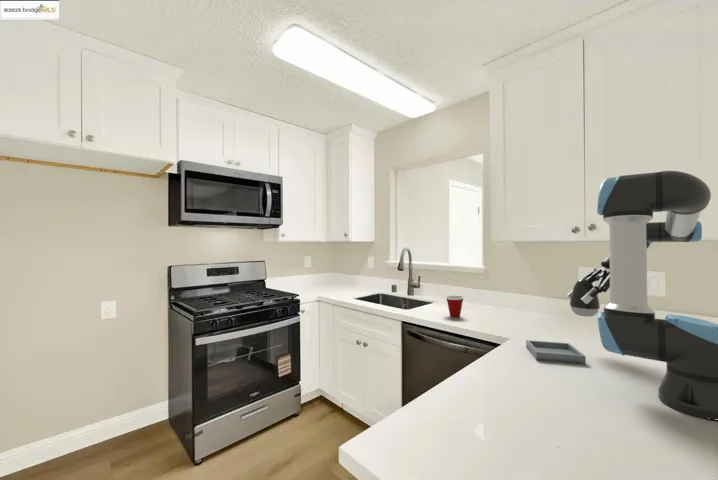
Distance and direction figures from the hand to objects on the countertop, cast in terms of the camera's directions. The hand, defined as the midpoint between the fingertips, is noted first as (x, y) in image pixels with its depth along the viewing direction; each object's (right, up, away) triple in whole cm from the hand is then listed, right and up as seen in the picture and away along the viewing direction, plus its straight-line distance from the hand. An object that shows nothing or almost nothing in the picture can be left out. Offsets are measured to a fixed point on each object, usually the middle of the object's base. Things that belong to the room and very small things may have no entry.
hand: (576, 299), depth 133 cm
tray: (-15, -20, -8) cm, 26 cm away
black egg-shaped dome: (+3, -7, -1) cm, 7 cm away
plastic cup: (-33, -22, +61) cm, 73 cm away
